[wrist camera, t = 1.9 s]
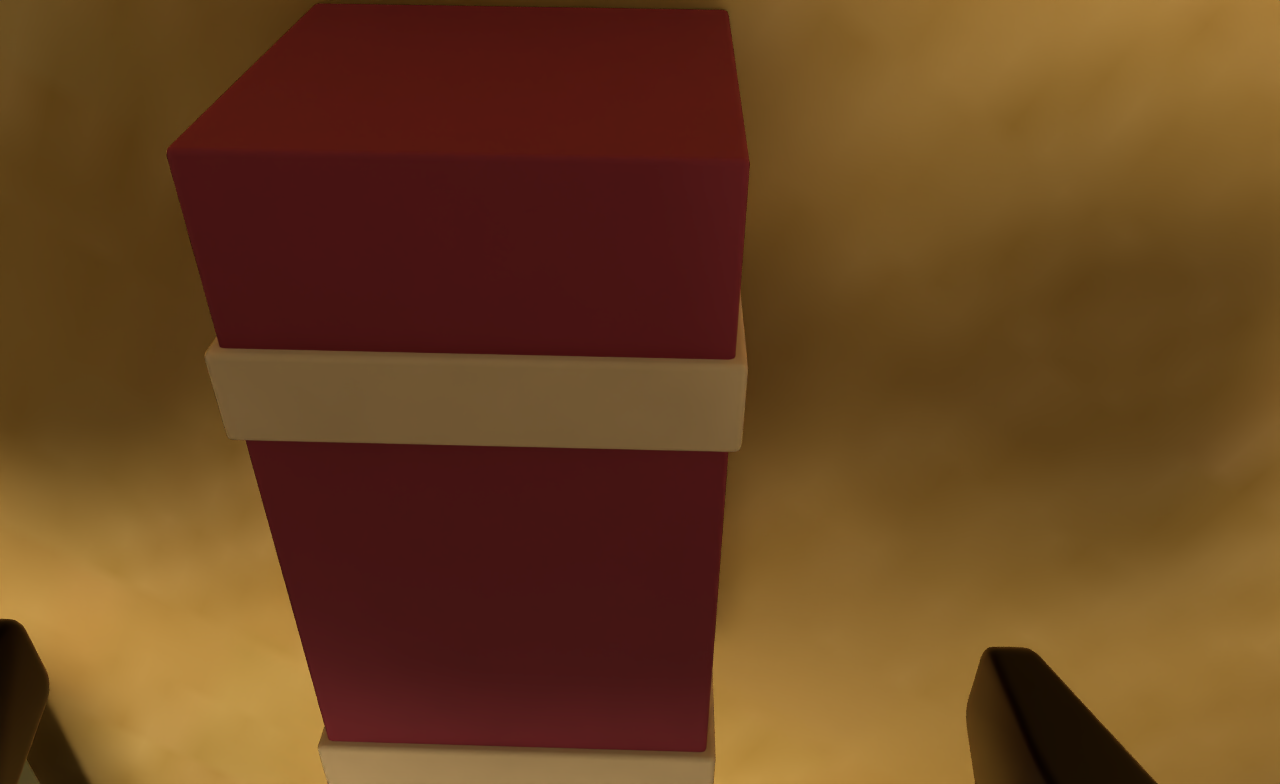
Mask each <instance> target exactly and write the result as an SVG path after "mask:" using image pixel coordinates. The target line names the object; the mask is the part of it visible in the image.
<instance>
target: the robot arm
mask: <svg viewBox="0 0 1280 784" xmlns="http://www.w3.org/2000/svg"><path fill="white" fill-rule="evenodd" d="M48 695H49V678H48V674H47V671H46V669H45V667H44V665H43V663H42V661H41V659H40V657H39V655H38V653H37V651H36V649H35V647H34V645H33V643H32V641H31V639H30V638H29V636H28V634H27V632H26V630H25V628H24V627H23V625H21V624H20V623H19V622H17V621H16V620H11V619H0V784H18V781H19V779H20V776H21V773H22V770H23V767H24V765H25V762H26V759H27V756H28V753H29V751H30V748H31V745H32V742H33V739H34V737H35V734H36V731H37V728H38V725H39V723H40V720H41V717H42V714H43V711H44V709H45V706H46V703H47V699H48ZM966 721H967V731H968V738H969V745H970V752H971V758H972V765H973V772H974V778H975V784H1157V783H1156V782H1155V781H1154V779H1153V778H1152V777H1151V776H1150V775H1149V774H1148V773H1147V772H1146V771H1145V770H1144V769H1143V768H1142V766H1141V765H1140V764H1139V763H1138V762H1137V761H1136V760H1135V759H1134V758H1133V757H1132V756H1131V755H1130V754H1129V752H1128V751H1127V750H1126V749H1125V748H1124V747H1123V746H1122V745H1121V744H1120V743H1119V742H1118V741H1117V739H1116V738H1115V737H1114V736H1113V735H1112V734H1111V733H1110V732H1109V731H1108V730H1107V729H1106V728H1105V726H1104V725H1103V724H1102V723H1101V722H1100V721H1099V720H1098V719H1097V718H1096V717H1095V716H1094V715H1093V713H1092V712H1091V711H1090V710H1089V709H1088V708H1087V707H1086V706H1085V705H1084V704H1083V703H1082V702H1081V701H1080V699H1079V698H1078V697H1077V696H1076V695H1075V694H1074V693H1073V692H1072V691H1071V690H1070V689H1069V688H1068V686H1067V685H1066V684H1065V683H1064V682H1063V681H1062V680H1061V679H1060V678H1059V677H1058V676H1057V675H1056V673H1055V672H1054V671H1053V670H1052V669H1051V668H1050V667H1049V666H1048V665H1047V664H1046V663H1045V662H1044V660H1043V659H1042V658H1041V657H1040V656H1039V655H1038V654H1037V653H1035V652H1034V651H1032V650H1030V649H1028V648H1023V647H989V648H987V649H986V650H985V651H984V652H983V654H982V656H981V659H980V662H979V666H978V669H977V672H976V676H975V679H974V682H973V686H972V689H971V692H970V695H969V699H968V703H967V710H966Z"/></svg>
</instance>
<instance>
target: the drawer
mask: <svg viewBox="0 0 1280 784" xmlns="http://www.w3.org/2000/svg"><path fill="white" fill-rule="evenodd" d="M18 784H40V782H39V780H38V779H37V777H36V775H35V773H34V772H33V770H32V768H31V766H30V765H29V763H28V761H27V759H26V762H25V765H24V767H23V770H22V773H21V776H20V779H19V781H18Z"/></svg>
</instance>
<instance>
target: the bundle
mask: <svg viewBox="0 0 1280 784" xmlns="http://www.w3.org/2000/svg"><path fill="white" fill-rule="evenodd" d="M167 159H168V163H169V166H170V170H171V173H172V177H173V181H174V184H175V188H176V191H177V195H178V199H179V202H180V206H181V209H182V213H183V217H184V220H185V224H186V227H187V231H188V235H189V238H190V242H191V245H192V249H193V253H194V256H195V260H196V264H197V267H198V271H199V274H200V278H201V282H202V285H203V289H204V292H205V296H206V300H207V303H208V307H209V310H210V314H211V318H212V321H213V325H214V328H215V332H216V338H215V339H214V341H213V342H212V344H211V345H210V347H209V348H208V350H207V351H206V353H205V362H206V365H207V369H208V372H209V376H210V379H211V383H212V386H213V390H214V393H215V396H216V400H217V403H218V407H219V410H220V414H221V417H222V421H223V424H224V428H225V431H226V434H227V437H228V438H229V439H232V440H246V444H247V447H248V451H249V455H250V458H251V462H252V465H253V469H254V473H255V476H256V480H257V483H258V487H259V491H260V494H261V498H262V501H263V505H264V509H265V512H266V516H267V520H268V523H269V527H270V530H271V534H272V538H273V541H274V545H275V548H276V552H277V556H278V559H279V563H280V566H281V570H282V574H283V577H284V581H285V584H286V588H287V592H288V595H289V599H290V602H291V606H292V610H293V613H294V617H295V620H296V624H297V628H298V631H299V635H300V639H301V642H302V646H303V649H304V653H305V657H306V660H307V664H308V667H309V671H310V675H311V678H312V682H313V685H314V689H315V693H316V696H317V700H318V703H319V707H320V711H321V714H322V718H323V721H324V725H325V727H324V730H323V733H322V736H321V739H320V742H319V745H318V751H319V755H320V758H321V762H322V765H323V768H324V772H325V775H326V779H327V782H328V784H713V783H714V771H715V730H714V702H713V673H712V667H713V653H714V640H715V626H716V613H717V599H718V586H719V573H720V559H721V546H722V532H723V519H724V505H725V492H726V478H727V465H728V452H736V451H739V449H740V448H741V446H742V437H743V425H744V413H745V401H746V389H747V377H748V362H747V352H746V342H745V332H744V322H743V312H742V302H741V292H740V290H741V277H742V263H743V250H744V236H745V223H746V209H747V196H748V182H749V169H750V162H749V155H748V148H747V141H746V134H745V127H744V120H743V113H742V106H741V98H740V91H739V84H738V77H737V70H736V63H735V56H734V49H733V42H732V35H731V28H730V21H729V15H728V12H727V11H725V10H699V9H636V8H572V7H509V6H446V5H383V4H320V3H318V4H316V5H314V6H313V7H312V8H311V9H310V10H309V11H308V12H307V13H306V14H305V15H304V16H303V17H302V18H301V19H299V20H298V21H297V22H296V23H295V24H294V25H293V26H292V27H291V28H290V29H289V30H288V31H287V32H286V33H285V34H284V35H283V36H282V37H281V38H280V39H279V40H278V41H277V42H276V43H275V44H274V45H273V46H272V47H271V48H270V49H269V50H268V51H267V52H266V53H265V54H264V55H263V56H262V57H260V58H259V59H258V60H257V61H256V62H255V63H254V64H253V65H252V66H251V67H250V68H249V69H248V70H247V71H246V72H245V73H244V74H243V75H242V76H241V77H240V78H239V79H238V80H237V81H236V82H235V83H234V84H233V85H232V86H231V87H230V88H229V89H228V90H227V91H226V92H225V93H224V94H223V95H221V96H220V97H219V98H218V99H217V100H216V101H215V102H214V103H213V104H212V105H211V106H210V107H209V108H208V109H207V110H206V111H205V112H204V113H203V114H202V115H201V116H200V117H199V118H198V119H197V120H196V121H195V122H194V123H193V124H192V125H191V126H190V127H189V128H188V129H187V130H186V131H185V132H183V133H182V134H181V135H180V136H179V137H178V138H177V139H176V140H175V141H174V142H173V143H172V144H171V145H170V146H169V147H168V148H167Z"/></svg>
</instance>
